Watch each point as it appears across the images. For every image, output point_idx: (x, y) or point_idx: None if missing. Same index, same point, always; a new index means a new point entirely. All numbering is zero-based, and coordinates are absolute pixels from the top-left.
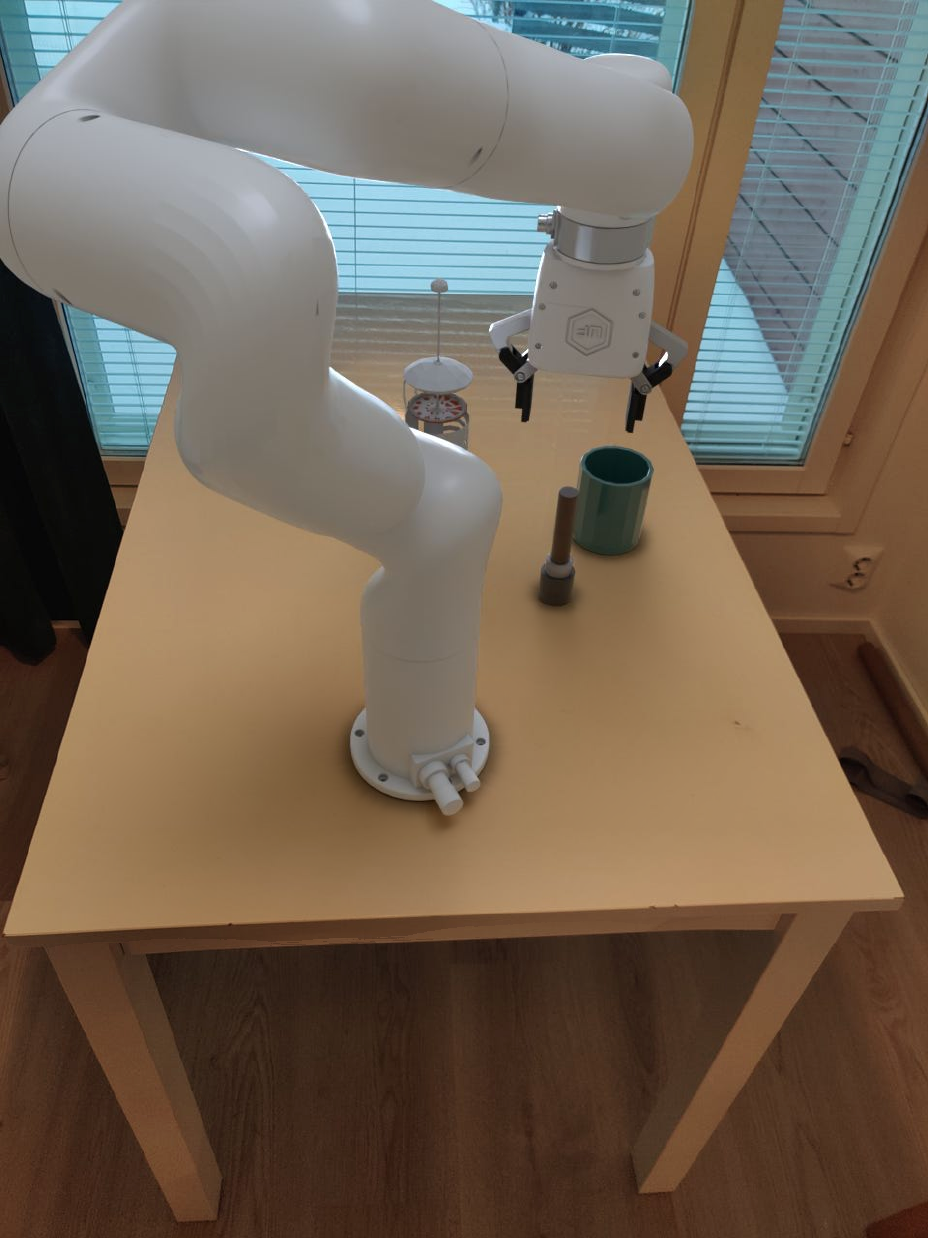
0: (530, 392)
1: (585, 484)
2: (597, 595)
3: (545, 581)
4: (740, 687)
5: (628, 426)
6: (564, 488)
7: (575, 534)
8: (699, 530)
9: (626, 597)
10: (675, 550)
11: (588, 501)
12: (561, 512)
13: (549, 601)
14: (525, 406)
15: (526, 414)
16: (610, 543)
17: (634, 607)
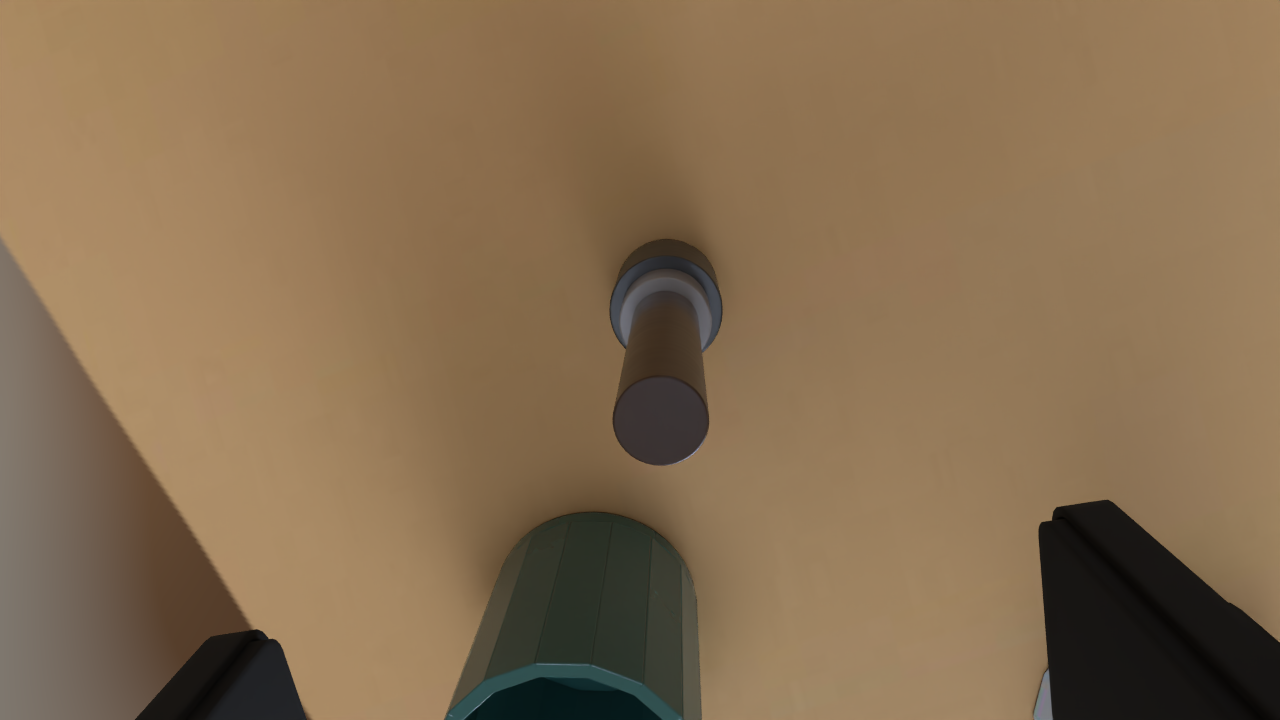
0: (1210, 690)
1: (660, 667)
2: (546, 332)
3: (695, 260)
4: (66, 92)
5: (228, 658)
6: (687, 440)
7: (672, 556)
8: (351, 698)
9: (465, 353)
10: (389, 596)
11: (639, 617)
12: (675, 352)
13: (672, 241)
14: (1156, 576)
15: (1097, 534)
16: (556, 535)
17: (432, 319)
